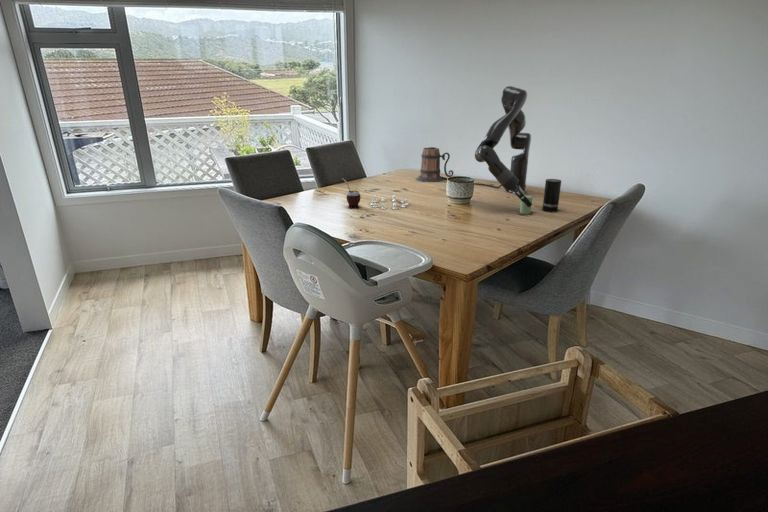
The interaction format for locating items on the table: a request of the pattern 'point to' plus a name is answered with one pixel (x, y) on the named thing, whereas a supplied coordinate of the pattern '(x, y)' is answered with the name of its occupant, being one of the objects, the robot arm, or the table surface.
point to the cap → (525, 206)
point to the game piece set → (392, 200)
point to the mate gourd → (352, 197)
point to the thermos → (551, 195)
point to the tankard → (432, 165)
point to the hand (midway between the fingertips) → (529, 204)
